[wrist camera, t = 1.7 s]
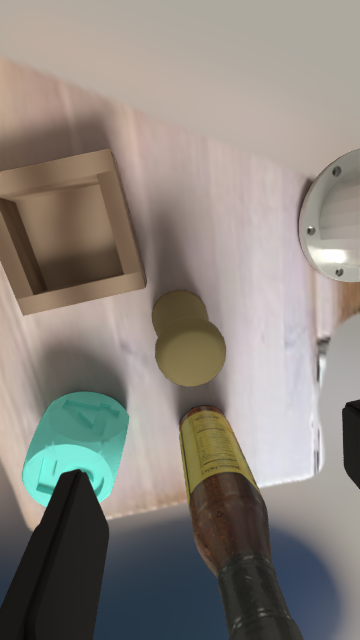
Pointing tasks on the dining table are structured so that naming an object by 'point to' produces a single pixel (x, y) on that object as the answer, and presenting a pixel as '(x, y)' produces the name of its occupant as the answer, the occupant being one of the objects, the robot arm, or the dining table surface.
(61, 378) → the dining table surface
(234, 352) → the dining table surface
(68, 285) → the shaker holder
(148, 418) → the dining table surface
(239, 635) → the sauce bottle
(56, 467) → the decorative dice
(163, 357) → the cork
